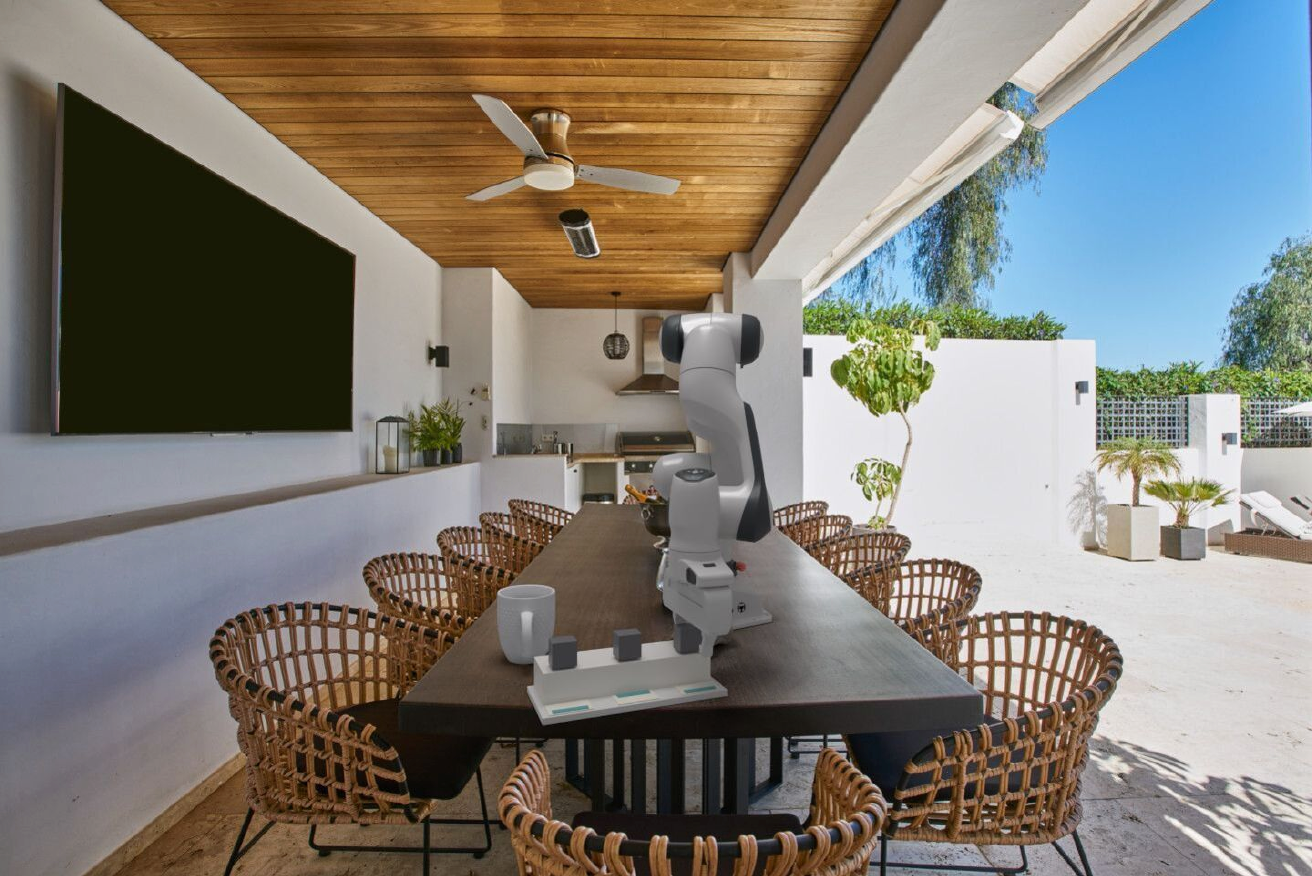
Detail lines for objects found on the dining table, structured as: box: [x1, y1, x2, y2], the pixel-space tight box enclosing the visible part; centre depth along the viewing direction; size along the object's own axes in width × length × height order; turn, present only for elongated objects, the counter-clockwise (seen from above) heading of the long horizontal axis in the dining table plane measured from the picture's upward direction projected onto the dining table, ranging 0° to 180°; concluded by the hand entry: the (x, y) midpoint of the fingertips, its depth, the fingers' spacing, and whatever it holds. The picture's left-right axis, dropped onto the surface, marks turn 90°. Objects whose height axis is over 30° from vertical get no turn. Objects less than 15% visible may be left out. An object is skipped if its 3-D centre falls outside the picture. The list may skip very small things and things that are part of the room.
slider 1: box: [547, 634, 578, 669], centre depth 105 cm, size 4×3×4 cm
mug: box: [496, 584, 556, 665], centre depth 123 cm, size 15×11×13 cm
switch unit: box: [526, 640, 729, 726], centre depth 109 cm, size 31×13×6 cm, turn 111°
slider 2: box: [673, 623, 702, 653], centre depth 113 cm, size 4×3×4 cm
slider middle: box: [612, 627, 643, 660], centre depth 109 cm, size 4×3×4 cm
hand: (693, 646), depth 110 cm, fingers open, 8 cm apart
